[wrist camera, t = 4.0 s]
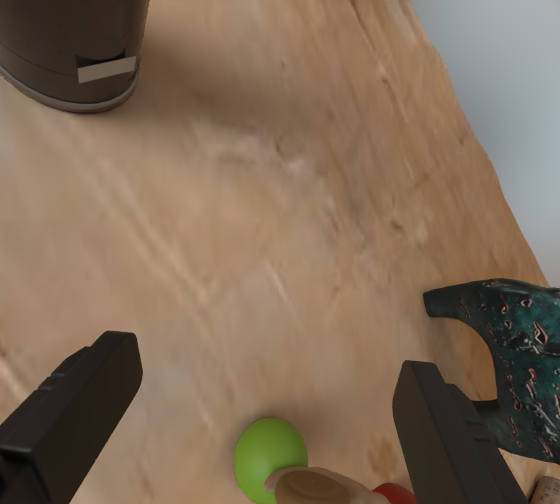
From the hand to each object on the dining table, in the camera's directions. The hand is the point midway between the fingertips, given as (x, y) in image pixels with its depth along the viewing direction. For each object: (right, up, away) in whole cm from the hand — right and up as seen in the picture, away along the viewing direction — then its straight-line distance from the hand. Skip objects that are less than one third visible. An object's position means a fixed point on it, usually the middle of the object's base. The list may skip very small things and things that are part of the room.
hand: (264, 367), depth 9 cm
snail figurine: (-1, -12, +16) cm, 20 cm away
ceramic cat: (+21, -11, +30) cm, 38 cm away
